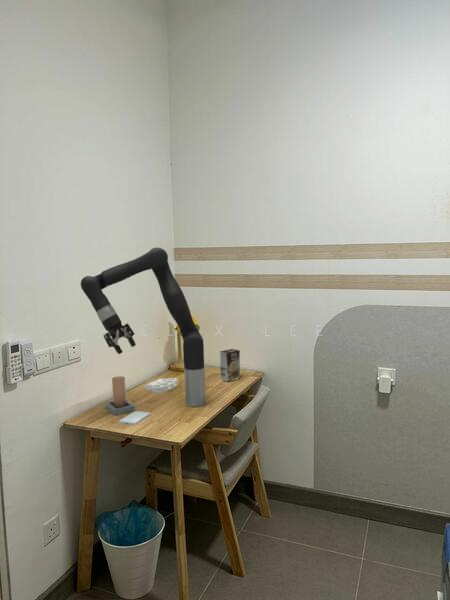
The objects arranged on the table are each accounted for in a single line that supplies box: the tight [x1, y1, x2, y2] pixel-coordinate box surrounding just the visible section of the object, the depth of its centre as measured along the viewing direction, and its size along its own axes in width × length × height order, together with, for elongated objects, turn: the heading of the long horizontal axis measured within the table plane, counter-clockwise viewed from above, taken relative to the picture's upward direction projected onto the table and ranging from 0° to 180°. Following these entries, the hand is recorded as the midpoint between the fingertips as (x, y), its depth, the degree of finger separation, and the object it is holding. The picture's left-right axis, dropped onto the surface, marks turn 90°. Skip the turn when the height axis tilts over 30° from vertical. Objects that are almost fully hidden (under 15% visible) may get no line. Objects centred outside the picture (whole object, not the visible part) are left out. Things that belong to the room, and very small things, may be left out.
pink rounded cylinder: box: [111, 376, 127, 409], centre depth 203 cm, size 6×6×14 cm
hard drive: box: [117, 410, 151, 426], centre depth 191 cm, size 2×8×12 cm
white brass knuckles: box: [144, 377, 178, 394], centre depth 234 cm, size 3×18×15 cm
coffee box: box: [219, 348, 241, 382], centre depth 245 cm, size 9×6×16 cm
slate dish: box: [104, 399, 136, 416], centre depth 203 cm, size 12×9×2 cm
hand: (127, 349), depth 194 cm, fingers open, 8 cm apart
